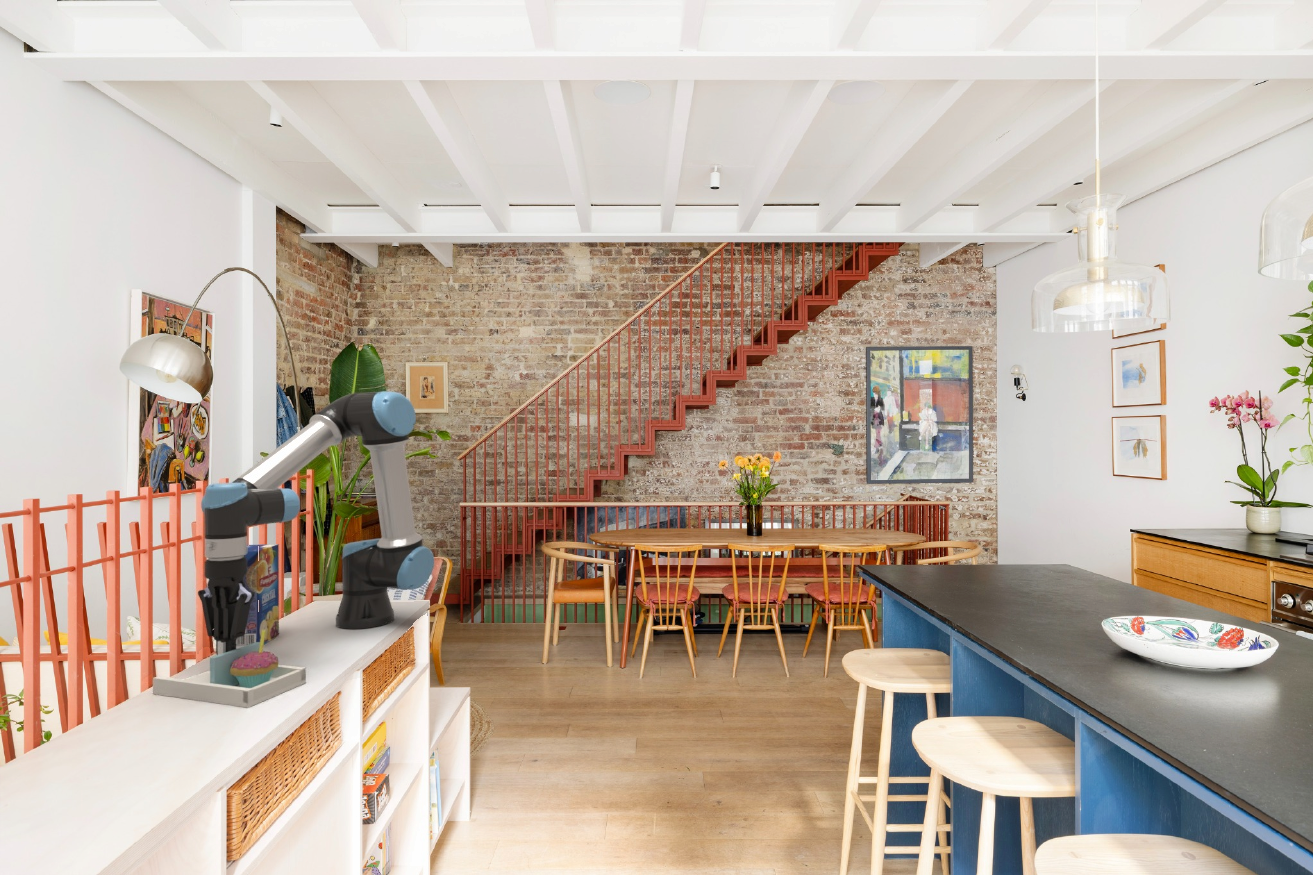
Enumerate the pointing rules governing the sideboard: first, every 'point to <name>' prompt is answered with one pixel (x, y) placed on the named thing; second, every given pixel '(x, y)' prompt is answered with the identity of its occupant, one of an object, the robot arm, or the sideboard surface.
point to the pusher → (228, 665)
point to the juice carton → (262, 594)
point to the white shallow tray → (230, 687)
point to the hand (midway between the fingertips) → (226, 671)
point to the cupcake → (254, 666)
